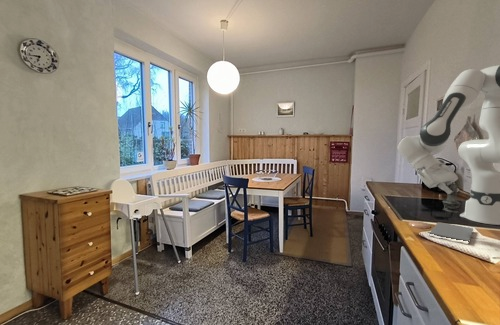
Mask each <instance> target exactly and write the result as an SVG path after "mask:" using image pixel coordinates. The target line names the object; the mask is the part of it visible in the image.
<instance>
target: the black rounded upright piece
mask: <svg viewBox="0 0 500 325" xmlns="http://www.w3.org/2000/svg"><path fill="white" fill-rule="evenodd" d="M454 183H455V181H454V182H452V184H450V185H447V187H448V188H451V189H452V190H453V193H451V194H447V193H446V194H447V195H446V198H445V199H444V200H442V204H443V206H444V208H442V211H445V212H447V213H456V214H457V213H460V210H458V208H460V206H461V204H462V203H461V202H460V201H458V199H457V197H458V195H459V193H458V192H457V188H458V184H457V185H456V183H455V184H454Z"/></svg>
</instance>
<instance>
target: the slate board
mask: <svg viewBox="0 0 500 325" xmlns="http://www.w3.org/2000/svg"><path fill="white" fill-rule="evenodd" d="M472 231H473V232H474V228H473V227H468V226H462V225H456V224H451V223H447V222H446V223H444V222H439V221H438V222H437V223H436V224H435V225H434V227H433V228H432V229H431V230H430V231H429V235H430V234H434V235H437V236H441V237H446V238H451V239H456V240H463V241H468V242H469V240H470V241H471V239H470V237H471V238H472V236H471V234H472V235H473V233H472ZM469 243H470V242H469Z"/></svg>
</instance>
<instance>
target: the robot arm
mask: <svg viewBox="0 0 500 325" xmlns="http://www.w3.org/2000/svg"><path fill="white" fill-rule="evenodd" d="M480 94H484V99H483V102H482V104H481V105H482V106H481V110H480V114H479V116H480V117H479V122H478V126H479V127H480V129H481V130H483V131H485V132H487V135H488V139H487V138H486V139H484V138H483V139H481V138H480V139H479V138H478V139H477V138H476V139H470V140H466V141H463V142H461V143H460V145H459V146H458V148H457V152H458V153H457V154H458V156H459V157H460V159H462V160H463V161H464V162H465V163H466V164H467V166H468V167H469V170H470V173H471V189H470V192H469V197H470V198H469V199H466V200H465V205H464V206H465V207H464V211H463V212H462V213H460V214H459V217H461V218H465V219H467V220H469V221H472V222H476V223H482V224H487V225H495V226H496V225H497V226H500V171H498V170H497V169H496V168H495V166H494V164H500V64H498V65H492V66H488V67H484V68H482V69H476V68H469V69H465V70H463V71H462V72H460V73H459V75H457V77H456V78H455V79H454V80H453V82H452V83H451V84H450V86H449V88H448V89H447V91H446V92H445V95H444V97H443V100H442V105H441V106H440V108H439V109H438V111H437V112H436V114H435V115H434V117H433V118H431V119H430V120H428V121H427V122H426V123H425V124H424V125H422V126H421V128H420V130H419V135H407V136H405V137H403V138H401V140H400V141H399V143H398V144H397V146H396V148H397V149H396V150H397V151H398V153H399V154H400V155H401V156H402V158H404V160H405V161H407V162H408V163H409V164H411V166H412V168H413V169H414V170H415V171H416V172H417V173H418V174H417V175H418V177H419V179H420V180H421V181H422V182H423V183H424V185H425V186H426V187H428V188H429V189H431V188H436V187H438V188H439V189H441V190H442V191H444V192H445V193H446V194H451V193H453V190H452V189H451V188H448V185H450V184H452V182H454V184H455V185H456V183H455V182H457V181H458V180H459V177H458V175H457V174H456V173H455V171H453V169H452V168H450V167H449V166H448V165H446V164H447V163H446V162H445V161H444V160H442V159H439V158H437V157H435V156H434V155H436V154H439V153H441V152H442V151H444V149H445V148H446V146H447V144H448V140H449V138H450V136H451V132H452V131H451V124H452V122H454V120H455V118H456V116H457V114H458V113H459V112H463V111H467V110H468V109H469V108H470V107H471V106H472V104H474V102H475V101H476V100H477V97H478V96H479V95H480ZM459 191H460V189H459V188H458V187H457V193H458V192H459Z"/></svg>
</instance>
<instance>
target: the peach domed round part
mask: <svg viewBox="0 0 500 325" xmlns="http://www.w3.org/2000/svg"><path fill="white" fill-rule="evenodd" d="M408 226H410V227H412V228H416V229H430V228H431V225H430V224H428V223H427V222H423V221H422V222H421V221H418V220H417V221H416V220H415V221H414V220H413V221H409V222H408Z"/></svg>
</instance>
